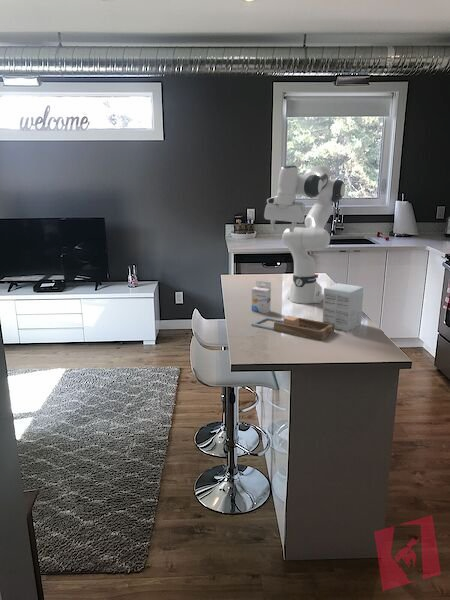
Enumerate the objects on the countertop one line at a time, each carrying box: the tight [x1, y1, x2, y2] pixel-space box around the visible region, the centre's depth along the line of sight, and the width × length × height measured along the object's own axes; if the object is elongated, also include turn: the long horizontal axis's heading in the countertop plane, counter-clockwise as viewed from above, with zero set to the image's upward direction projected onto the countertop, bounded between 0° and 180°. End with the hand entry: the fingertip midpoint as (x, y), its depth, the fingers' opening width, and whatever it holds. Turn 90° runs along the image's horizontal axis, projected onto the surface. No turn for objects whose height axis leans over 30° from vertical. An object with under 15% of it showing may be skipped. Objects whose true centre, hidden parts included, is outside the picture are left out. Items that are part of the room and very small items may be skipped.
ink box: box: [251, 280, 272, 314], centre depth 239 cm, size 8×5×15 cm, turn 60°
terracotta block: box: [283, 315, 300, 327], centre depth 213 cm, size 5×5×5 cm
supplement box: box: [322, 282, 364, 332], centre depth 216 cm, size 13×13×18 cm
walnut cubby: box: [273, 315, 335, 341], centre depth 210 cm, size 13×22×4 cm, turn 53°
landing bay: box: [251, 316, 284, 331], centre depth 220 cm, size 13×12×1 cm
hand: (282, 231), depth 226 cm, fingers open, 8 cm apart
